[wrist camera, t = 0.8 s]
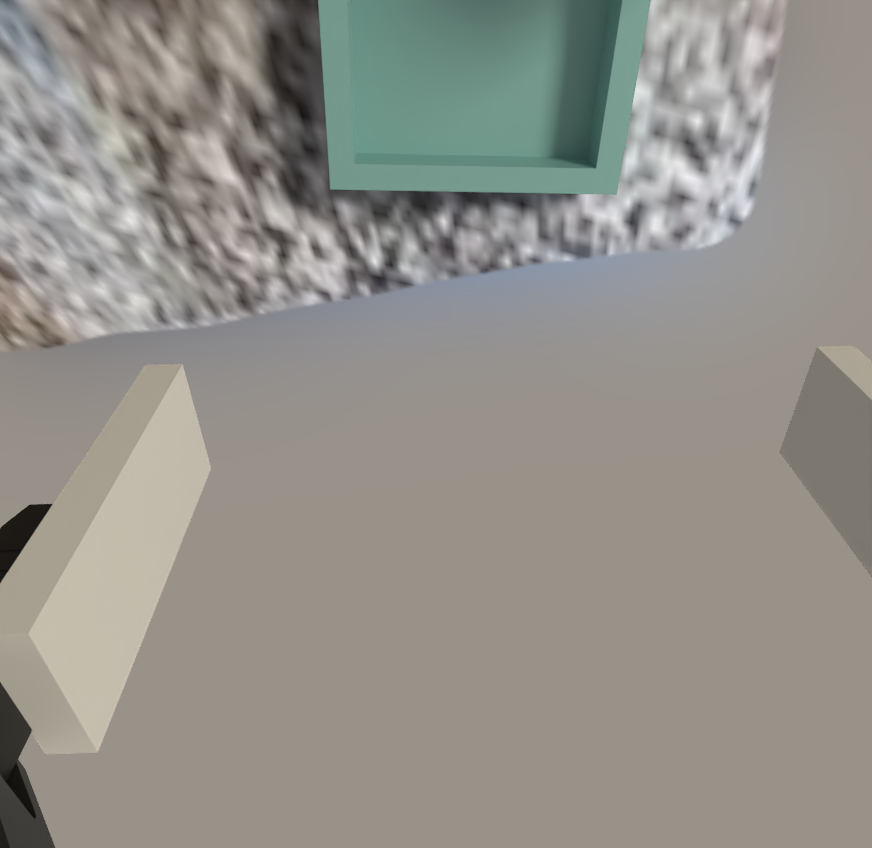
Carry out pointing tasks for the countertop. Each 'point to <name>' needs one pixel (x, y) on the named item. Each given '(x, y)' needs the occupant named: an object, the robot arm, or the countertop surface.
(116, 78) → the countertop surface
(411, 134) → the collection tray
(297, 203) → the countertop surface
